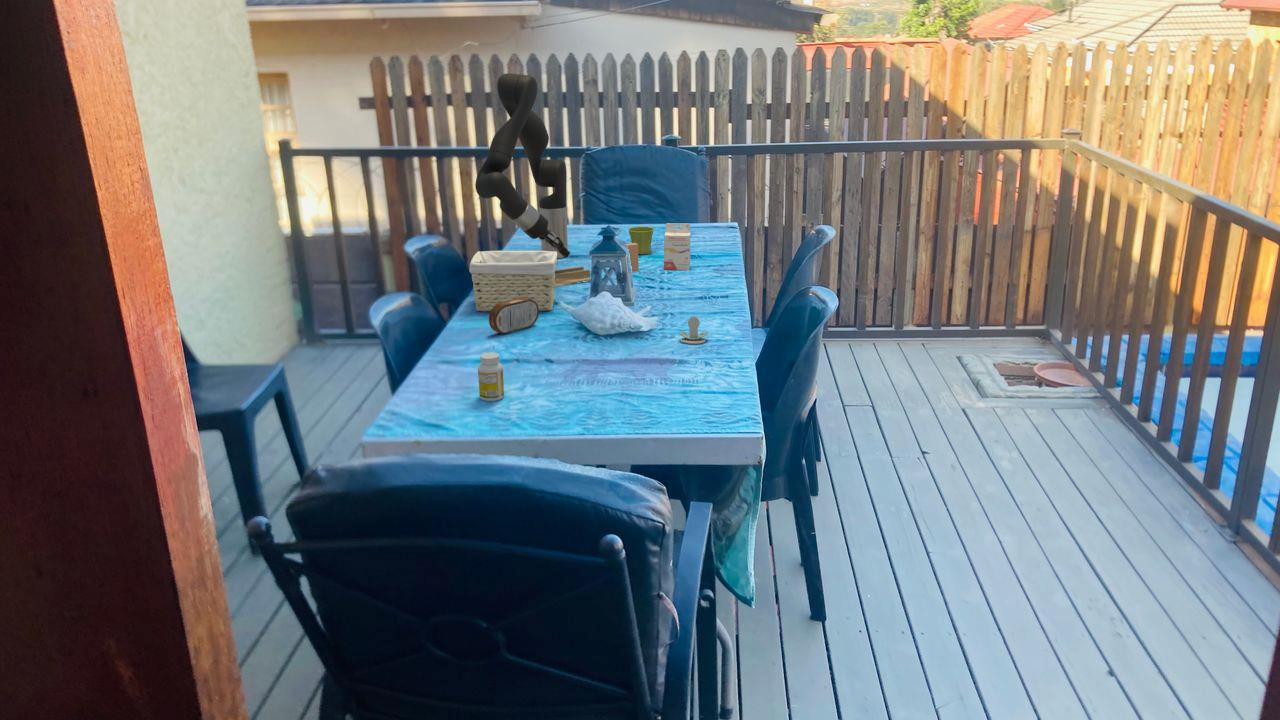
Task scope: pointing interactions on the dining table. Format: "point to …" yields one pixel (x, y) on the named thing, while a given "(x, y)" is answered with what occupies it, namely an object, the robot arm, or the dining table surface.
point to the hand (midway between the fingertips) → (567, 255)
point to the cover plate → (634, 256)
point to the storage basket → (513, 277)
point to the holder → (571, 276)
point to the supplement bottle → (490, 377)
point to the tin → (513, 315)
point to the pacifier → (693, 333)
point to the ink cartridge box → (677, 247)
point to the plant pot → (642, 238)
